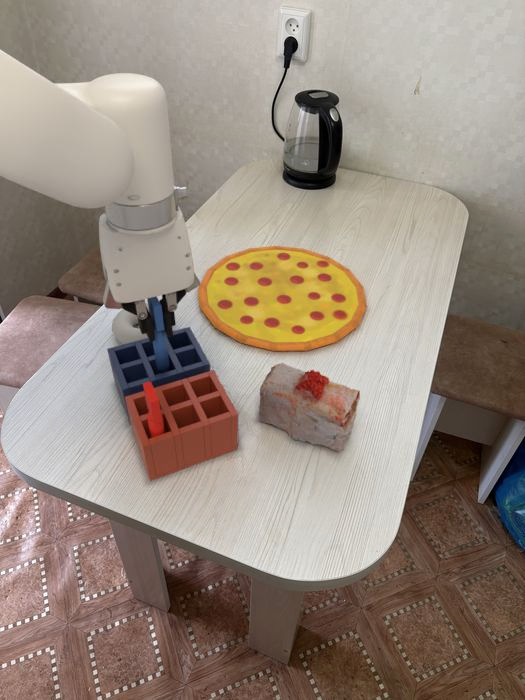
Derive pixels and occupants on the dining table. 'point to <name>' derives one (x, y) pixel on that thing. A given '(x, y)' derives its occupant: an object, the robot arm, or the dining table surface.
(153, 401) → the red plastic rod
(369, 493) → the dining table surface
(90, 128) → the robot arm
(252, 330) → the pizza
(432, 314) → the dining table surface
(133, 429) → the red caddy
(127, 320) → the donut
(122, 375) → the blue caddy
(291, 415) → the food item
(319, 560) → the dining table surface
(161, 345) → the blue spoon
